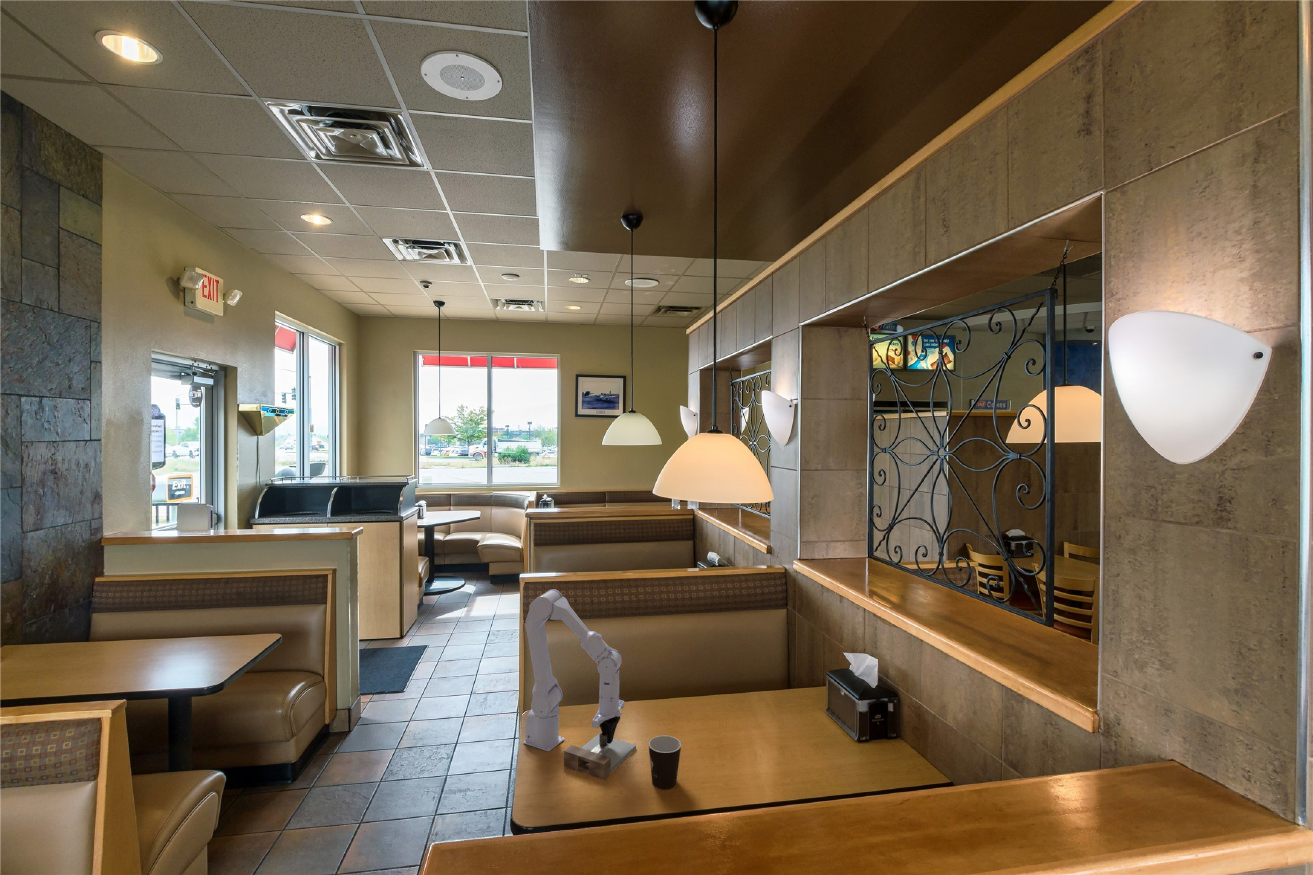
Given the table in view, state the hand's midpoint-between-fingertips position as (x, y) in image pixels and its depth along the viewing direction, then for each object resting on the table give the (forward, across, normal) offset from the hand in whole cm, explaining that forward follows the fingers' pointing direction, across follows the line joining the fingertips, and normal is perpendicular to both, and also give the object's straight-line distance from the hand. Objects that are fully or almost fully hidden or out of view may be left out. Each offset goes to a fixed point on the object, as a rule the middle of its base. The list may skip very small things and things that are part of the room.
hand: (608, 741), depth 161 cm
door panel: (+3, -2, 0) cm, 3 cm away
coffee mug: (+3, -4, -20) cm, 21 cm away
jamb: (+3, -11, 0) cm, 11 cm away
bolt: (+1, -5, 0) cm, 5 cm away
